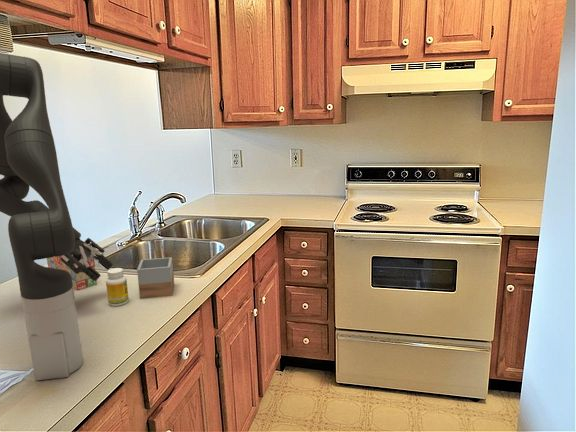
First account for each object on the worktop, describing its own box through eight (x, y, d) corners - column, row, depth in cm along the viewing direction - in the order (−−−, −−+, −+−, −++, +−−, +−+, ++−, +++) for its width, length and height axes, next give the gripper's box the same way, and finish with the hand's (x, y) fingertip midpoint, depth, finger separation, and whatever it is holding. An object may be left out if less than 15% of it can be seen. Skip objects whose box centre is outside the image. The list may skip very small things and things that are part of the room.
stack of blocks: (48, 275, 144) (43, 239, 141) (67, 269, 148) (62, 235, 145) (77, 291, 130) (72, 252, 127) (97, 284, 135) (93, 247, 132)
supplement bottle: (107, 300, 123) (104, 268, 121) (127, 297, 125) (124, 265, 123) (109, 308, 118) (105, 275, 116) (129, 304, 120) (126, 271, 118)
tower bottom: (172, 296, 126) (171, 282, 124) (140, 299, 124) (138, 284, 123) (174, 284, 134) (173, 271, 133) (144, 287, 133) (142, 273, 131)
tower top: (171, 281, 125) (170, 267, 124) (138, 284, 123) (137, 269, 122) (173, 271, 133) (171, 257, 132) (142, 273, 131) (141, 259, 130)
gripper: (52, 230, 109) (102, 272, 112) (78, 217, 123) (122, 255, 126) (34, 251, 111) (84, 292, 113) (62, 235, 124) (106, 272, 127)
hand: (104, 272), depth 120 cm, fingers open, 8 cm apart
